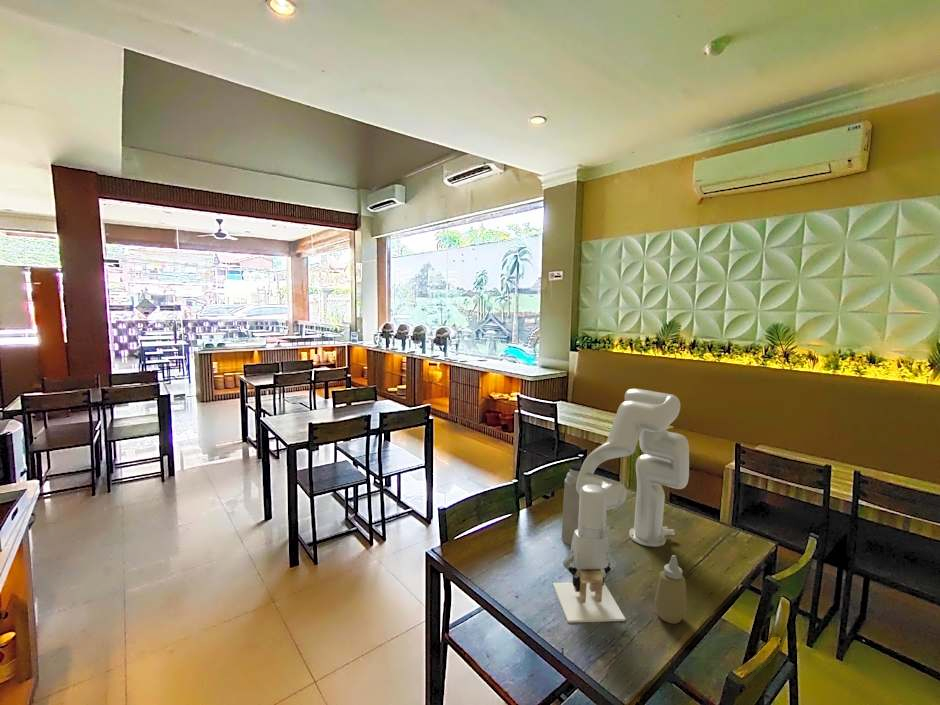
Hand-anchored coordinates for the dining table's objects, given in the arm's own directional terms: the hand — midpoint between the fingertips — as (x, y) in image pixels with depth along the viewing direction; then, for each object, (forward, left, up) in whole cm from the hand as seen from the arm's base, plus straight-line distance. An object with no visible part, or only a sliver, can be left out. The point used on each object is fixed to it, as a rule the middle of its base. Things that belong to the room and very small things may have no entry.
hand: (587, 587), depth 129 cm
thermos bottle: (-6, -33, -5) cm, 34 cm away
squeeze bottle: (-21, +7, -5) cm, 23 cm away
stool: (0, 0, -3) cm, 3 cm away
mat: (0, 0, -4) cm, 4 cm away
